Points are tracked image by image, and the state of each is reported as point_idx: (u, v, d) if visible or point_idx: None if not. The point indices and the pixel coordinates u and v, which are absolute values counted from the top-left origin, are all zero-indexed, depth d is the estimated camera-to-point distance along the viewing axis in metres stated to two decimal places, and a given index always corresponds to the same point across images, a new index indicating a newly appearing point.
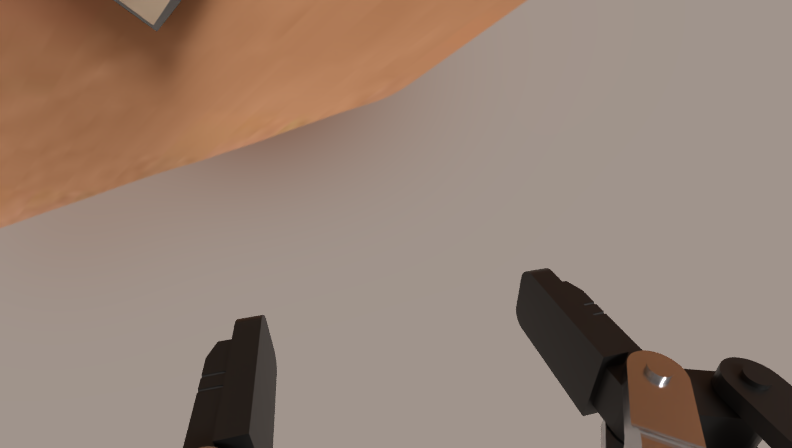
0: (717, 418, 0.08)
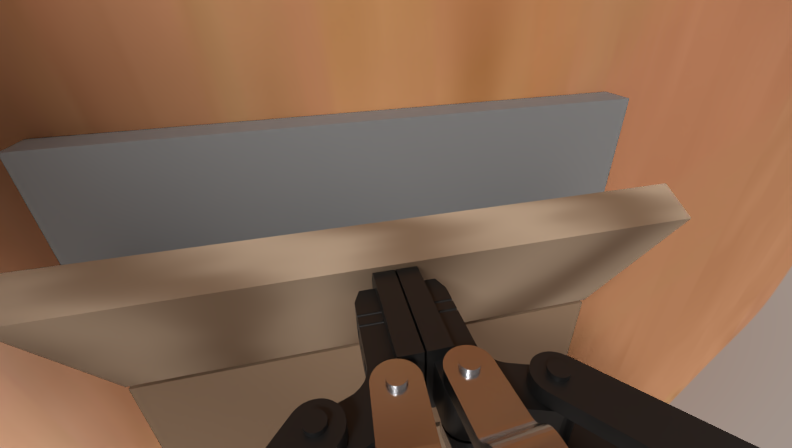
0: None
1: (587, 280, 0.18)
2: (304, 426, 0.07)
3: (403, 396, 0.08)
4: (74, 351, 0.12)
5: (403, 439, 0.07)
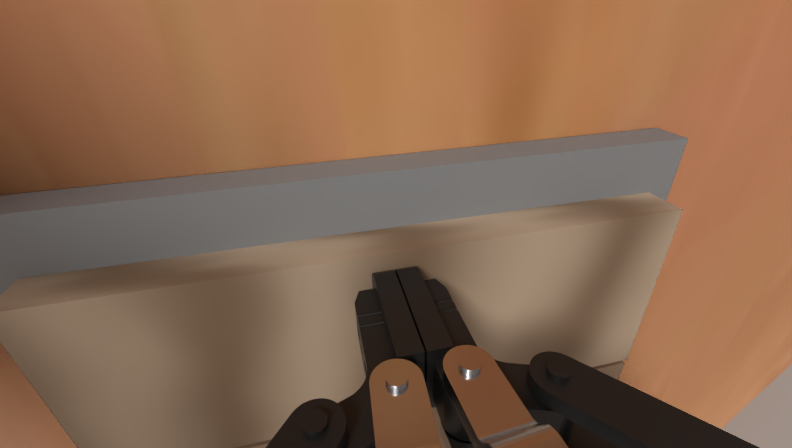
0: None
1: (614, 316, 0.16)
2: (304, 426, 0.07)
3: (403, 396, 0.08)
4: (63, 375, 0.12)
5: (403, 439, 0.07)
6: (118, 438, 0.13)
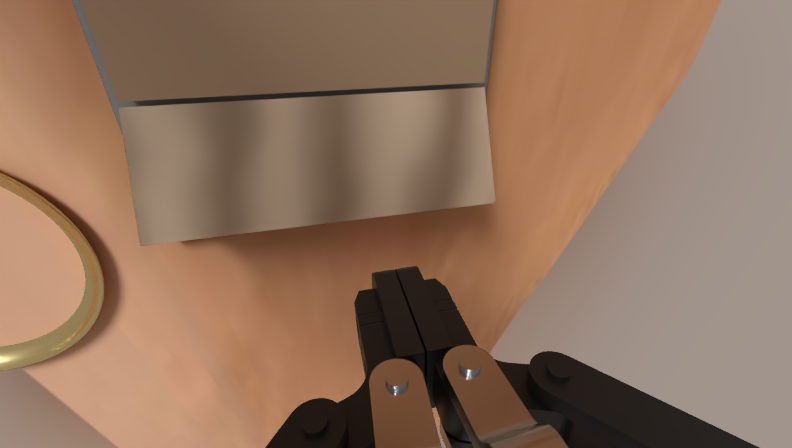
0: None
1: None
2: (304, 426, 0.07)
3: (403, 396, 0.08)
4: None
5: (403, 439, 0.07)
6: None
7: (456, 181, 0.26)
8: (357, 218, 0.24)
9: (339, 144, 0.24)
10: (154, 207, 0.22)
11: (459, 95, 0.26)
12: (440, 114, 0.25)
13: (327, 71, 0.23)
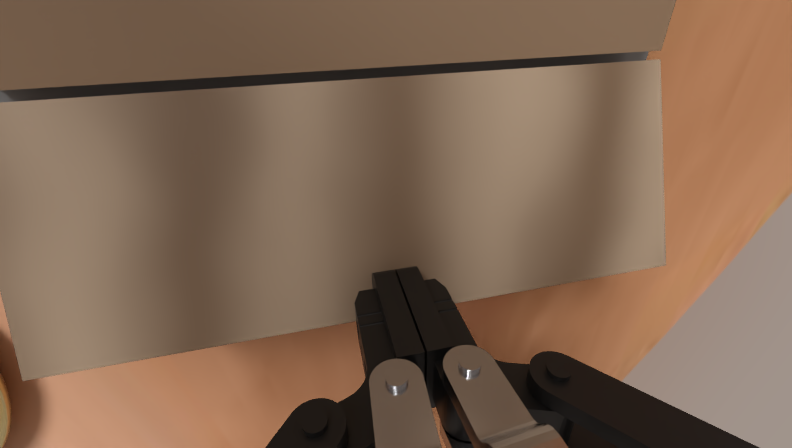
0: None
1: None
2: (304, 426, 0.07)
3: (403, 396, 0.08)
4: None
5: (403, 439, 0.07)
6: None
7: (604, 231, 0.14)
8: None
9: (402, 171, 0.13)
10: (46, 305, 0.11)
11: (617, 74, 0.14)
12: (583, 110, 0.14)
13: (383, 27, 0.12)
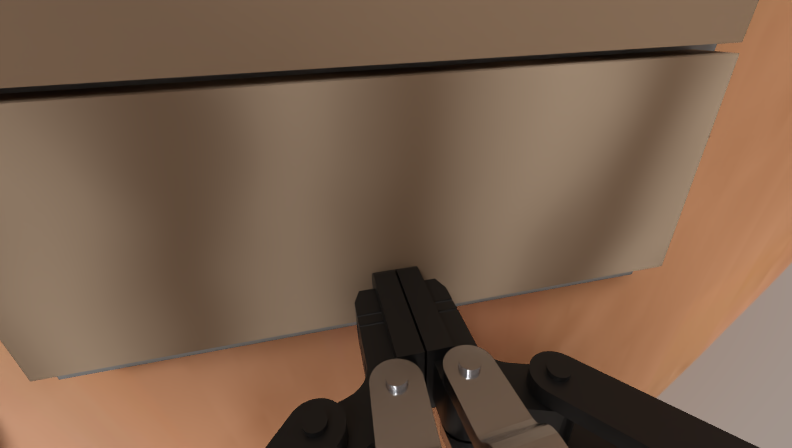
0: None
1: None
2: (304, 426, 0.07)
3: (403, 396, 0.08)
4: None
5: (403, 439, 0.07)
6: None
7: (613, 238, 0.14)
8: None
9: (415, 185, 0.11)
10: (35, 321, 0.11)
11: (683, 72, 0.12)
12: (630, 116, 0.12)
13: (406, 12, 0.09)
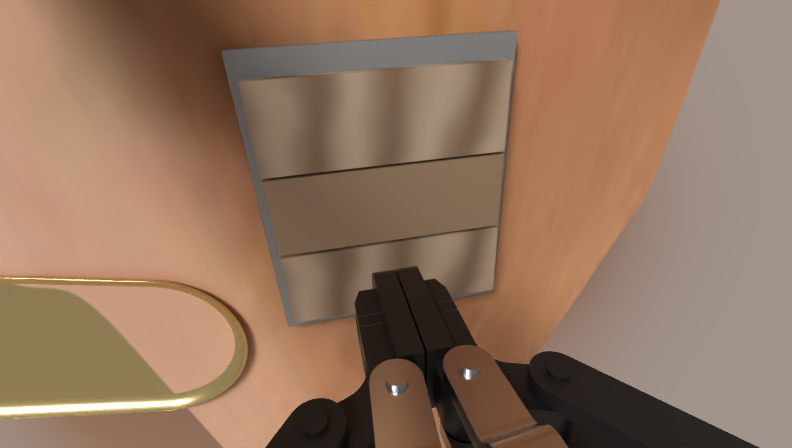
0: None
1: (491, 120, 0.34)
2: (304, 426, 0.07)
3: (403, 396, 0.08)
4: (258, 116, 0.30)
5: (403, 439, 0.07)
6: (271, 156, 0.32)
7: (471, 280, 0.42)
8: None
9: (403, 267, 0.40)
10: (300, 305, 0.39)
11: (480, 234, 0.40)
12: (466, 245, 0.40)
13: (399, 229, 0.38)
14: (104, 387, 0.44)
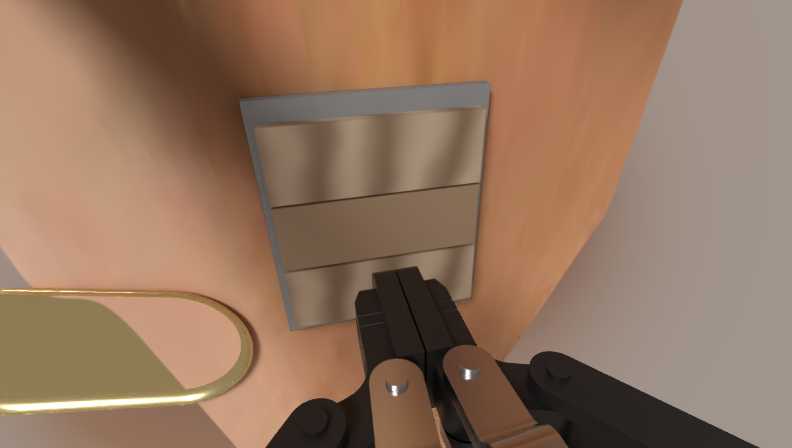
0: None
1: (468, 157, 0.40)
2: (304, 426, 0.07)
3: (403, 396, 0.08)
4: (270, 156, 0.36)
5: (403, 439, 0.07)
6: (280, 188, 0.37)
7: (451, 289, 0.48)
8: None
9: None
10: (302, 313, 0.45)
11: (459, 250, 0.46)
12: (447, 260, 0.46)
13: (388, 247, 0.43)
14: (123, 385, 0.49)
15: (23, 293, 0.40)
